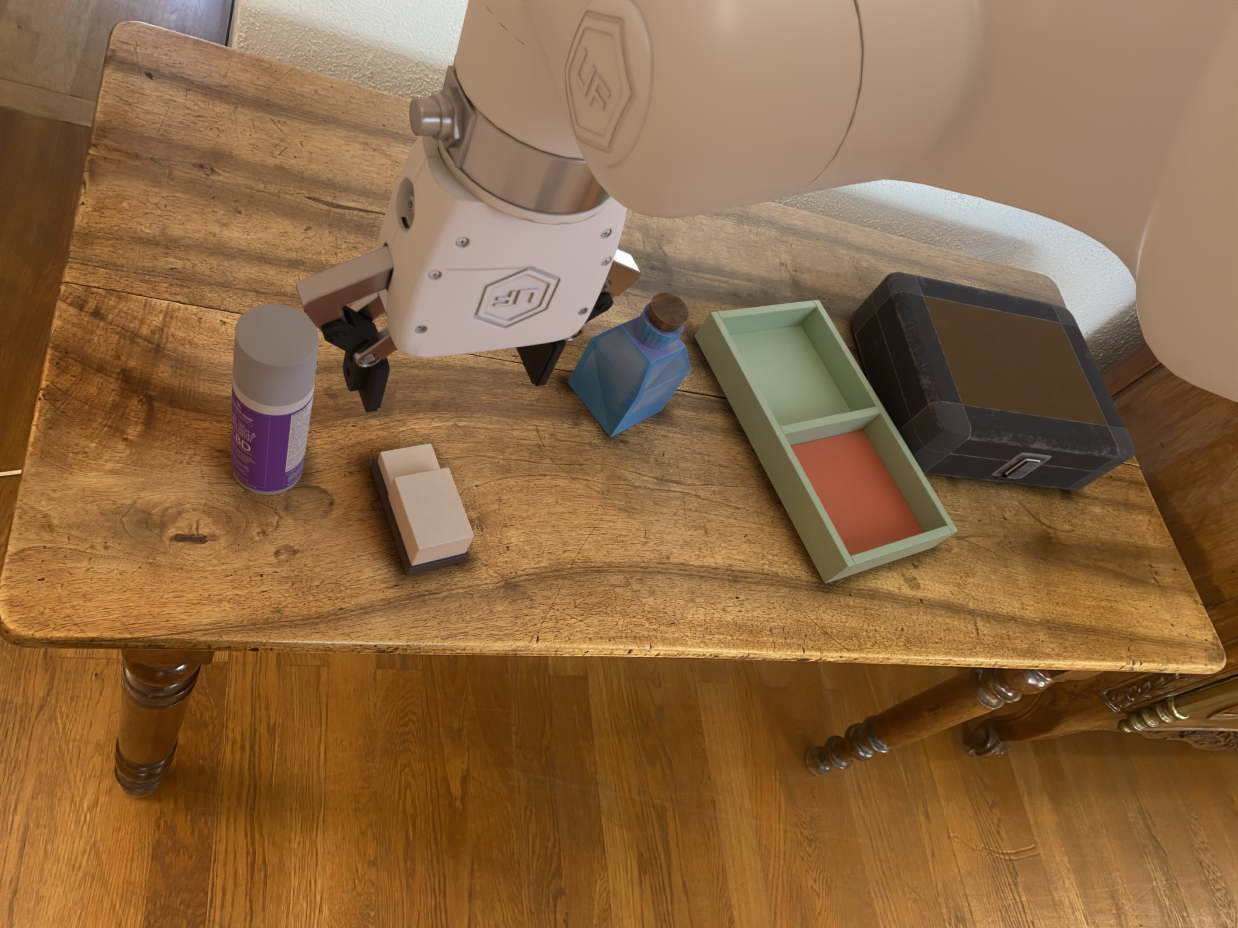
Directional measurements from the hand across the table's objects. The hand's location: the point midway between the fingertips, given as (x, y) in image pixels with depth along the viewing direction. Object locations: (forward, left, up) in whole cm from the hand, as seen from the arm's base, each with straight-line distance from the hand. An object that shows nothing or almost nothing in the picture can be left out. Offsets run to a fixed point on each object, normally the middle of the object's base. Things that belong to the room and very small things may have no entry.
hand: (450, 377), depth 48 cm
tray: (-1, -40, -18) cm, 44 cm away
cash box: (-1, -62, -18) cm, 64 cm away
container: (+6, +7, -18) cm, 21 cm away
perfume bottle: (+7, -22, -18) cm, 29 cm away
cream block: (0, -2, -18) cm, 18 cm away
